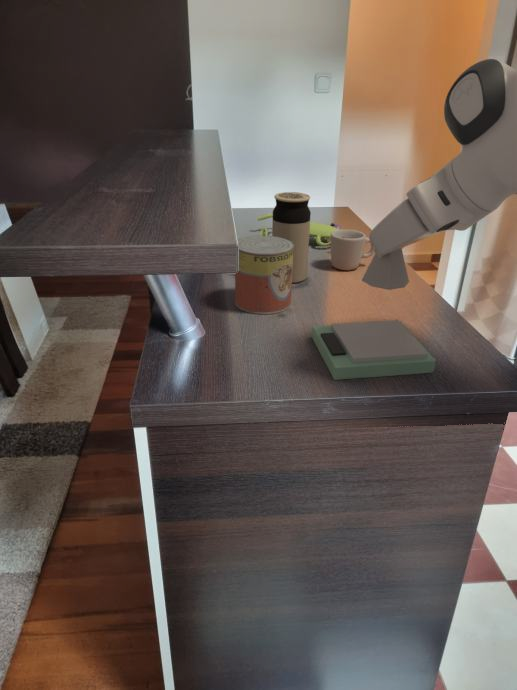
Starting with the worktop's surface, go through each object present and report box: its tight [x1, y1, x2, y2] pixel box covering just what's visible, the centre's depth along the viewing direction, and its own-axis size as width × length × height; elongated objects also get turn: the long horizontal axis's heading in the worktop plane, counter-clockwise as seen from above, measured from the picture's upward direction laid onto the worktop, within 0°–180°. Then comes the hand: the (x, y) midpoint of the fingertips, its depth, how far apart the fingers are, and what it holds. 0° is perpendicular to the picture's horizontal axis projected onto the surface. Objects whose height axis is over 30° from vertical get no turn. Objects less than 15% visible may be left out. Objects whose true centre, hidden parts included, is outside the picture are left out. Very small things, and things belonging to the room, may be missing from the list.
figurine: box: [257, 212, 341, 247], centre depth 138 cm, size 18×27×6 cm
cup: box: [330, 229, 375, 271], centre depth 120 cm, size 11×8×8 cm
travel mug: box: [271, 191, 312, 284], centre depth 111 cm, size 8×8×18 cm
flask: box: [361, 248, 410, 291], centre depth 81 cm, size 7×7×10 cm
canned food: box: [234, 235, 294, 315], centre depth 100 cm, size 11×11×12 cm
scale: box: [311, 319, 437, 381], centre depth 84 cm, size 16×14×3 cm
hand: (386, 250), depth 81 cm, fingers closed on flask, 3 cm apart
